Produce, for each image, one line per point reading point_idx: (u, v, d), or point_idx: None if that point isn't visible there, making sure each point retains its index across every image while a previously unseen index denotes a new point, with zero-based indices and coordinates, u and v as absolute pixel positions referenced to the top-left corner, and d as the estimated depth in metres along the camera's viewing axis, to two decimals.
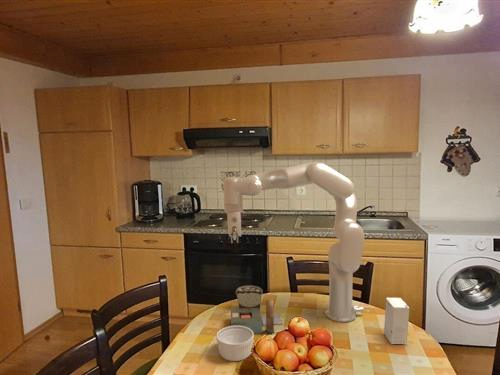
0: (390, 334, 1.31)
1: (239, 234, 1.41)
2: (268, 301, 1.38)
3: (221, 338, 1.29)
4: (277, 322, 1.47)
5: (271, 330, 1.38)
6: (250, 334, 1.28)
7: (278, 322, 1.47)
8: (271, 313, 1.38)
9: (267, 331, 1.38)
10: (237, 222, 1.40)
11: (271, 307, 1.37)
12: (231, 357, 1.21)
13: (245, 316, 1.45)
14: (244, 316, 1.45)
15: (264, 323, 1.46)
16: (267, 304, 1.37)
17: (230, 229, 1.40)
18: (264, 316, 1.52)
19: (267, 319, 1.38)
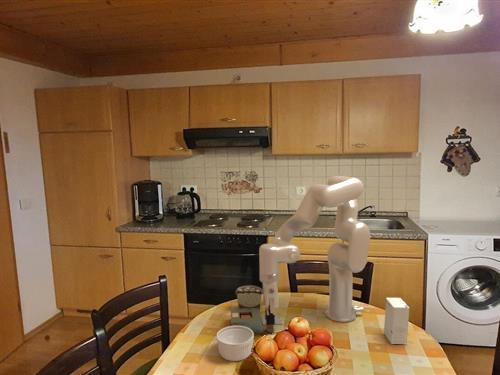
0: (390, 334, 1.31)
1: (276, 306, 1.34)
2: None
3: (221, 338, 1.29)
4: (277, 322, 1.47)
5: (271, 330, 1.38)
6: (250, 334, 1.28)
7: (278, 322, 1.47)
8: None
9: (267, 331, 1.38)
10: (274, 294, 1.33)
11: None
12: (231, 357, 1.21)
13: (245, 316, 1.45)
14: (244, 316, 1.45)
15: (264, 323, 1.46)
16: None
17: (267, 301, 1.33)
18: (264, 316, 1.52)
19: None
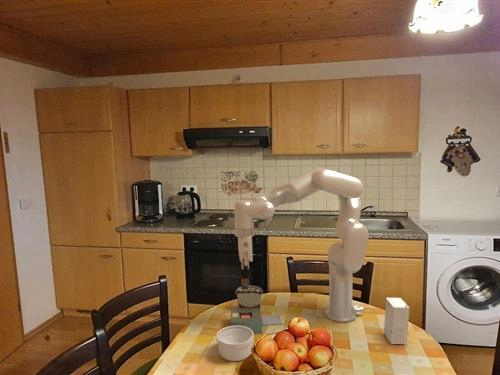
0: (390, 334, 1.31)
1: (250, 259, 1.37)
2: None
3: (221, 338, 1.29)
4: (277, 322, 1.47)
5: (246, 284, 1.42)
6: (250, 334, 1.28)
7: (278, 322, 1.47)
8: None
9: (242, 285, 1.42)
10: (248, 247, 1.36)
11: None
12: (231, 357, 1.21)
13: (245, 316, 1.45)
14: (244, 316, 1.45)
15: (264, 323, 1.46)
16: None
17: (241, 254, 1.37)
18: (264, 316, 1.52)
19: None
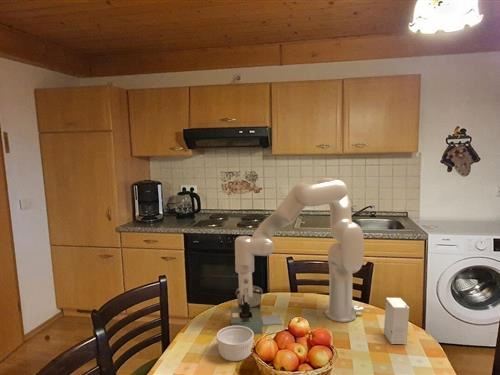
0: (390, 334, 1.31)
1: (251, 296, 1.39)
2: None
3: (221, 338, 1.29)
4: (277, 322, 1.47)
5: None
6: (250, 334, 1.28)
7: (278, 322, 1.47)
8: None
9: None
10: (249, 284, 1.38)
11: None
12: (231, 357, 1.21)
13: None
14: None
15: (264, 323, 1.46)
16: None
17: (241, 291, 1.38)
18: (264, 316, 1.52)
19: None
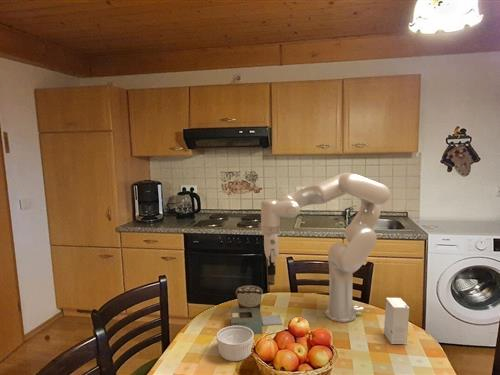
0: (390, 334, 1.31)
1: (277, 256, 1.42)
2: None
3: (221, 338, 1.29)
4: (277, 322, 1.47)
5: (272, 280, 1.47)
6: (250, 334, 1.28)
7: (278, 322, 1.47)
8: None
9: (268, 281, 1.47)
10: (275, 244, 1.41)
11: None
12: (231, 357, 1.21)
13: None
14: None
15: (264, 323, 1.46)
16: None
17: (268, 251, 1.42)
18: (264, 316, 1.52)
19: None
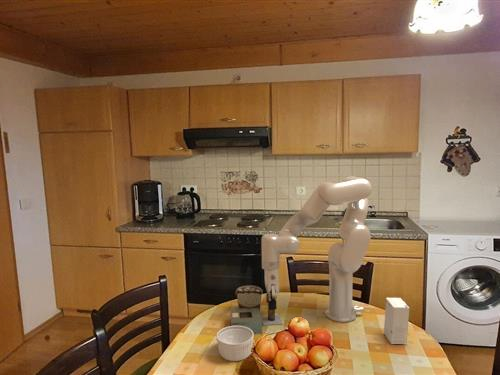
0: (390, 334, 1.31)
1: (277, 291, 1.44)
2: None
3: (221, 338, 1.29)
4: (277, 322, 1.47)
5: (272, 316, 1.48)
6: (250, 334, 1.28)
7: (278, 322, 1.47)
8: None
9: (269, 317, 1.49)
10: (275, 280, 1.43)
11: None
12: (231, 357, 1.21)
13: None
14: None
15: (264, 323, 1.46)
16: None
17: (269, 287, 1.43)
18: (264, 316, 1.52)
19: None
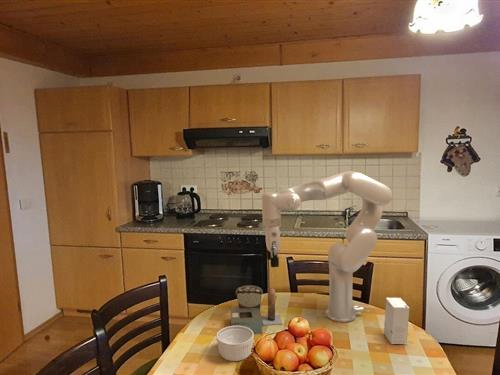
0: (390, 334, 1.31)
1: (279, 249, 1.42)
2: (270, 289, 1.48)
3: (221, 338, 1.29)
4: (277, 322, 1.47)
5: (272, 316, 1.48)
6: (250, 334, 1.28)
7: (278, 322, 1.47)
8: (272, 300, 1.48)
9: (269, 317, 1.49)
10: (277, 237, 1.42)
11: (272, 295, 1.47)
12: (231, 357, 1.21)
13: None
14: None
15: (264, 323, 1.46)
16: (269, 292, 1.48)
17: (270, 244, 1.42)
18: (264, 316, 1.52)
19: (269, 306, 1.48)
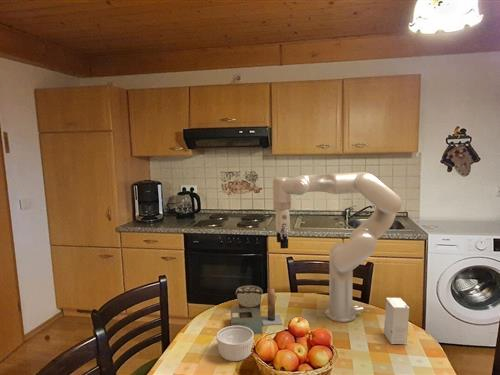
0: (390, 334, 1.31)
1: (288, 231, 1.48)
2: (269, 289, 1.48)
3: (221, 338, 1.29)
4: (277, 322, 1.47)
5: (272, 316, 1.48)
6: (250, 334, 1.28)
7: (278, 322, 1.47)
8: (272, 300, 1.48)
9: (269, 317, 1.49)
10: (287, 219, 1.48)
11: (272, 295, 1.47)
12: (231, 357, 1.21)
13: None
14: None
15: (264, 323, 1.46)
16: (268, 292, 1.47)
17: (280, 226, 1.48)
18: (264, 316, 1.52)
19: (269, 306, 1.48)
